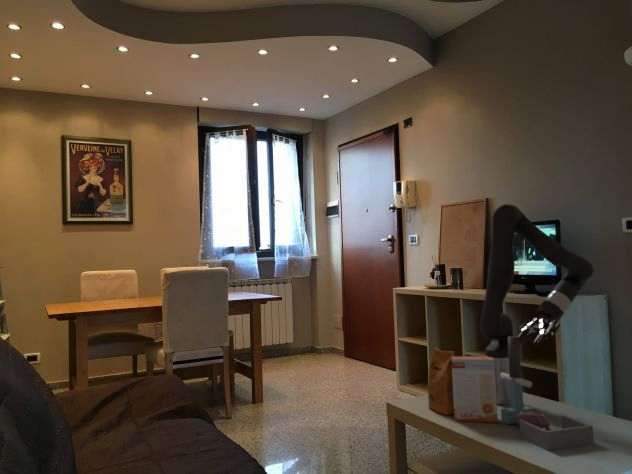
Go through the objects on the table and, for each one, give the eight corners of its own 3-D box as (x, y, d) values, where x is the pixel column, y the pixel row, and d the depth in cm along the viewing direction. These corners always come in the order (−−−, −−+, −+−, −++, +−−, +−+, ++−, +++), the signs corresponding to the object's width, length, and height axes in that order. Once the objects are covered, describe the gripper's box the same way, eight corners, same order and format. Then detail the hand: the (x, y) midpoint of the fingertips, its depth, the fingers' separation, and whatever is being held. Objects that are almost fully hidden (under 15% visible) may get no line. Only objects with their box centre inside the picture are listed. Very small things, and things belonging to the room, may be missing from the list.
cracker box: (496, 418, 170) (493, 356, 171) (498, 423, 164) (494, 359, 166) (454, 415, 174) (451, 355, 175) (454, 421, 168) (451, 358, 169)
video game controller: (516, 433, 159) (514, 415, 157) (517, 422, 163) (515, 405, 161) (550, 437, 155) (548, 419, 152) (550, 426, 159) (548, 409, 156)
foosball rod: (491, 416, 170) (487, 335, 172) (516, 413, 173) (512, 333, 174) (518, 429, 157) (513, 341, 158) (545, 425, 159) (540, 339, 161)
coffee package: (446, 404, 188) (443, 345, 190) (467, 413, 177) (465, 350, 178) (424, 407, 185) (421, 347, 186) (444, 416, 173) (442, 353, 174)
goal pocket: (520, 437, 151) (519, 420, 151) (564, 431, 155) (563, 414, 155) (547, 450, 140) (546, 432, 140) (593, 443, 144) (592, 426, 144)
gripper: (532, 298, 177) (506, 333, 174) (562, 301, 163) (534, 338, 160) (545, 313, 178) (520, 347, 175) (576, 316, 165) (548, 354, 161)
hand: (526, 343), depth 167 cm, fingers open, 8 cm apart
